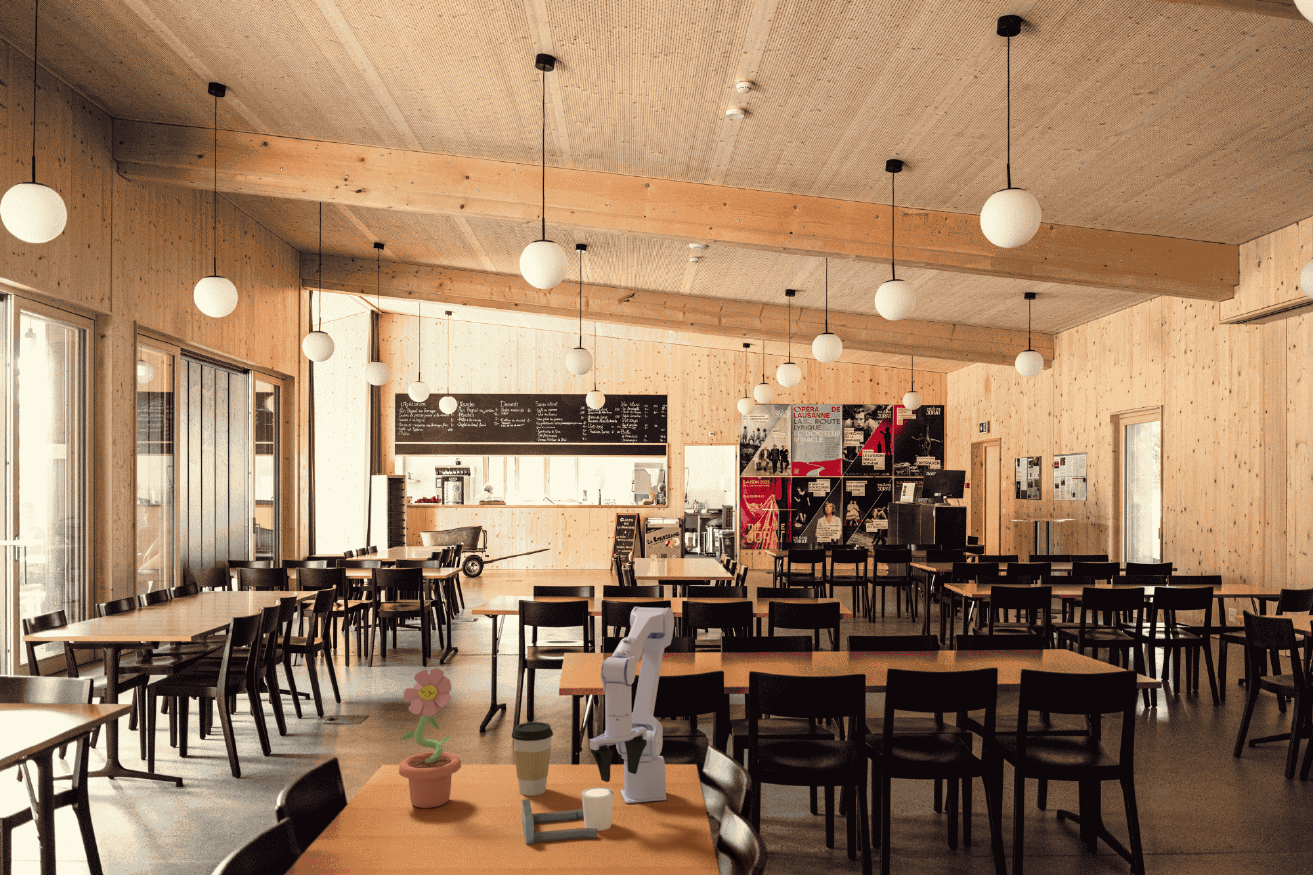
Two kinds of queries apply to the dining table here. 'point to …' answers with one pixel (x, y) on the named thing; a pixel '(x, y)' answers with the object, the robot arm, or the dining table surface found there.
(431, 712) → the decorative flower
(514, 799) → the dining table surface
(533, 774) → the coffee cup
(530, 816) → the grey hook bracket
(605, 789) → the shot glass
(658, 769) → the robot arm
